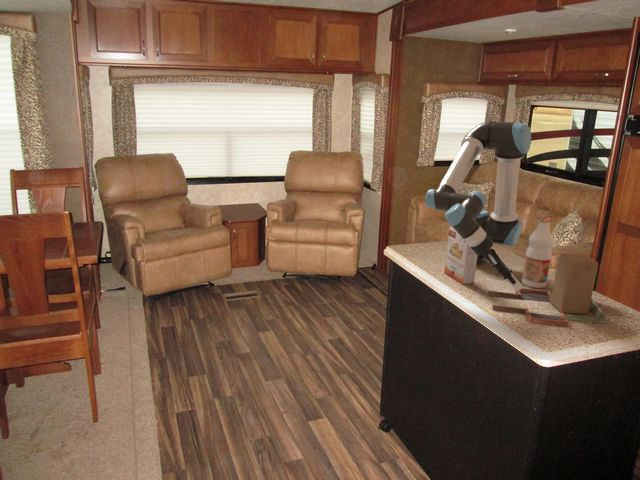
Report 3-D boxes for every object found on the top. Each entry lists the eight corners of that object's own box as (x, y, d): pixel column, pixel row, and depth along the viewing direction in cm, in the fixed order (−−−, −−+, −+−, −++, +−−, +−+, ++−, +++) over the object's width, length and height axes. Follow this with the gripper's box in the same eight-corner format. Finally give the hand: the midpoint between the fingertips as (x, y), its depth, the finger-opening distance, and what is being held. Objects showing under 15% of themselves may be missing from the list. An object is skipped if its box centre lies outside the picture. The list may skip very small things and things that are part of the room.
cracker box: (443, 272, 213) (448, 226, 207) (455, 271, 215) (461, 225, 209) (461, 284, 200) (468, 235, 194) (474, 283, 202) (481, 234, 196)
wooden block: (588, 315, 177) (600, 262, 171) (561, 314, 177) (571, 261, 171) (575, 303, 186) (585, 253, 181) (548, 302, 186) (558, 252, 181)
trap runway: (485, 287, 198) (486, 280, 198) (584, 298, 192) (585, 291, 191) (495, 317, 172) (496, 309, 171) (610, 331, 165) (612, 323, 164)
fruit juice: (519, 278, 210) (530, 214, 202) (543, 281, 208) (555, 216, 200) (523, 286, 201) (534, 220, 193) (547, 289, 199) (560, 222, 191)
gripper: (468, 242, 187) (508, 287, 189) (471, 252, 175) (514, 301, 177) (485, 229, 184) (525, 276, 186) (489, 239, 172) (532, 289, 174)
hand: (519, 288), depth 181 cm, fingers closed
